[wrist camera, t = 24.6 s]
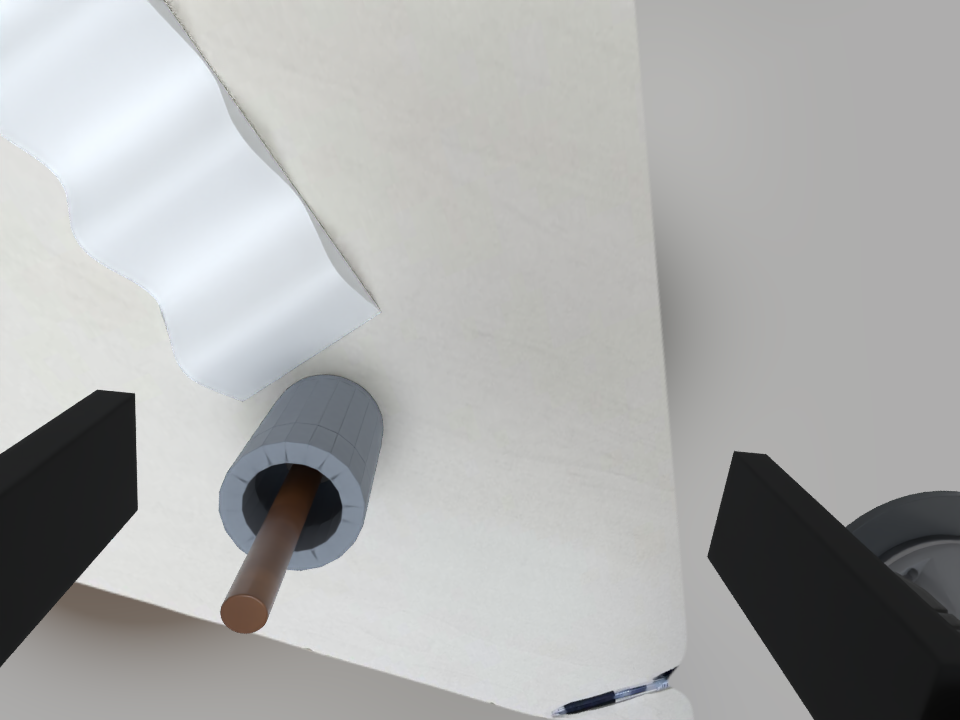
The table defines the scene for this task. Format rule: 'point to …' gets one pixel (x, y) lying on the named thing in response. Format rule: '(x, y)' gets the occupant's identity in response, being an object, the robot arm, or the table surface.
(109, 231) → the file organizer
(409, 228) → the table surface
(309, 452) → the grey cylindrical holder
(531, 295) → the table surface
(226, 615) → the brown and grey rod
